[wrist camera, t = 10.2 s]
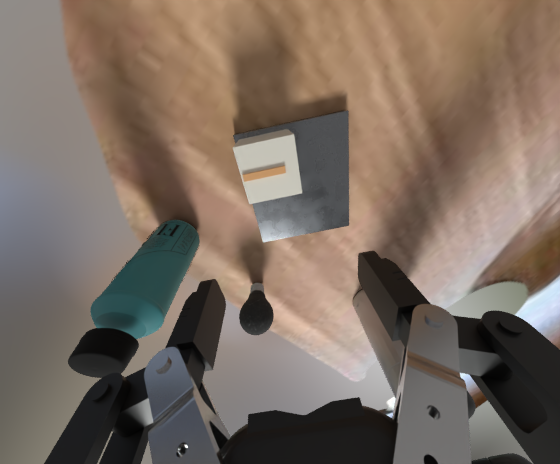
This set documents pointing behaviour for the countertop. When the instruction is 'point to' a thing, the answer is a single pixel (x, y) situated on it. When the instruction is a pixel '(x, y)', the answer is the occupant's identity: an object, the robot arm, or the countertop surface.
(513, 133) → the countertop surface
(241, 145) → the white box
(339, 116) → the plate
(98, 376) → the beverage bottle
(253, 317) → the light bulb
